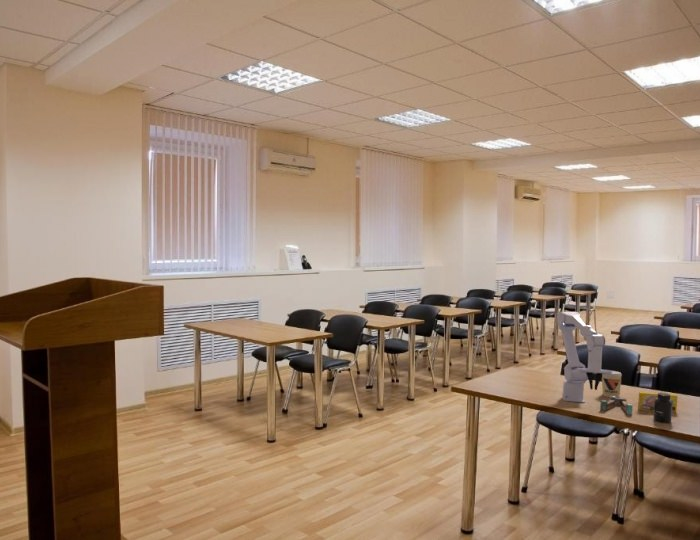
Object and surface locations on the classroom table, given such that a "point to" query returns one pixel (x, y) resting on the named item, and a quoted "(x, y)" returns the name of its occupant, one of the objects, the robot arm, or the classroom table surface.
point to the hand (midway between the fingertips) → (593, 389)
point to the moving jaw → (607, 405)
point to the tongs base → (623, 404)
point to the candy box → (653, 401)
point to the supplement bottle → (663, 408)
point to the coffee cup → (611, 384)
